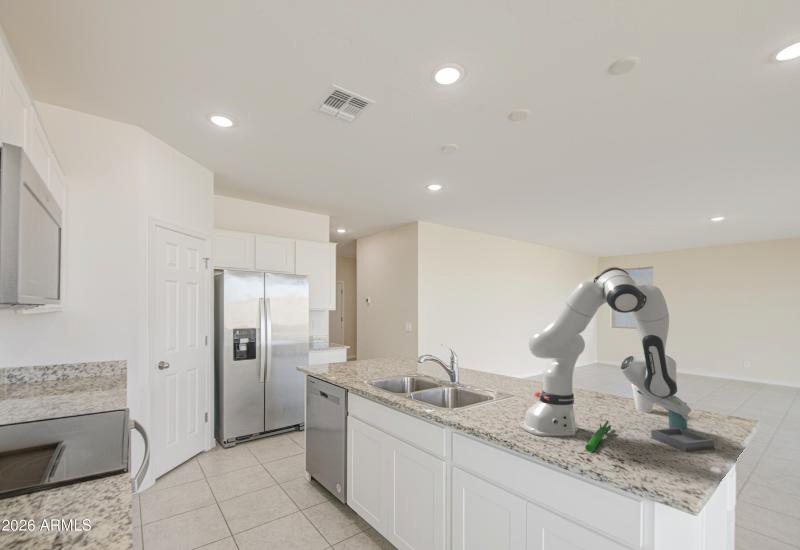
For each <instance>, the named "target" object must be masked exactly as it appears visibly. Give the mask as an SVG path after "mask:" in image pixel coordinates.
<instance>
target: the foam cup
mask: <svg viewBox="0 0 800 550" xmlns="http://www.w3.org/2000/svg"><path fill="white" fill-rule="evenodd" d="M631 388H632V394H633V401H634V406H635V407H634V408H635V410H636V409H637V410H639V411H638V412H640V411H644V412H643V413H646V412H650V413H652V411H653V406H654V405H653V404H654V403H652V402H650V401H649V400H648V399H647V398H645V397H644V396H643V395H642V394H640V393H638V392H637V391H636V389H637V386H635V385H633V384H632V383H631ZM637 410H636V411H637Z"/></svg>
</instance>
